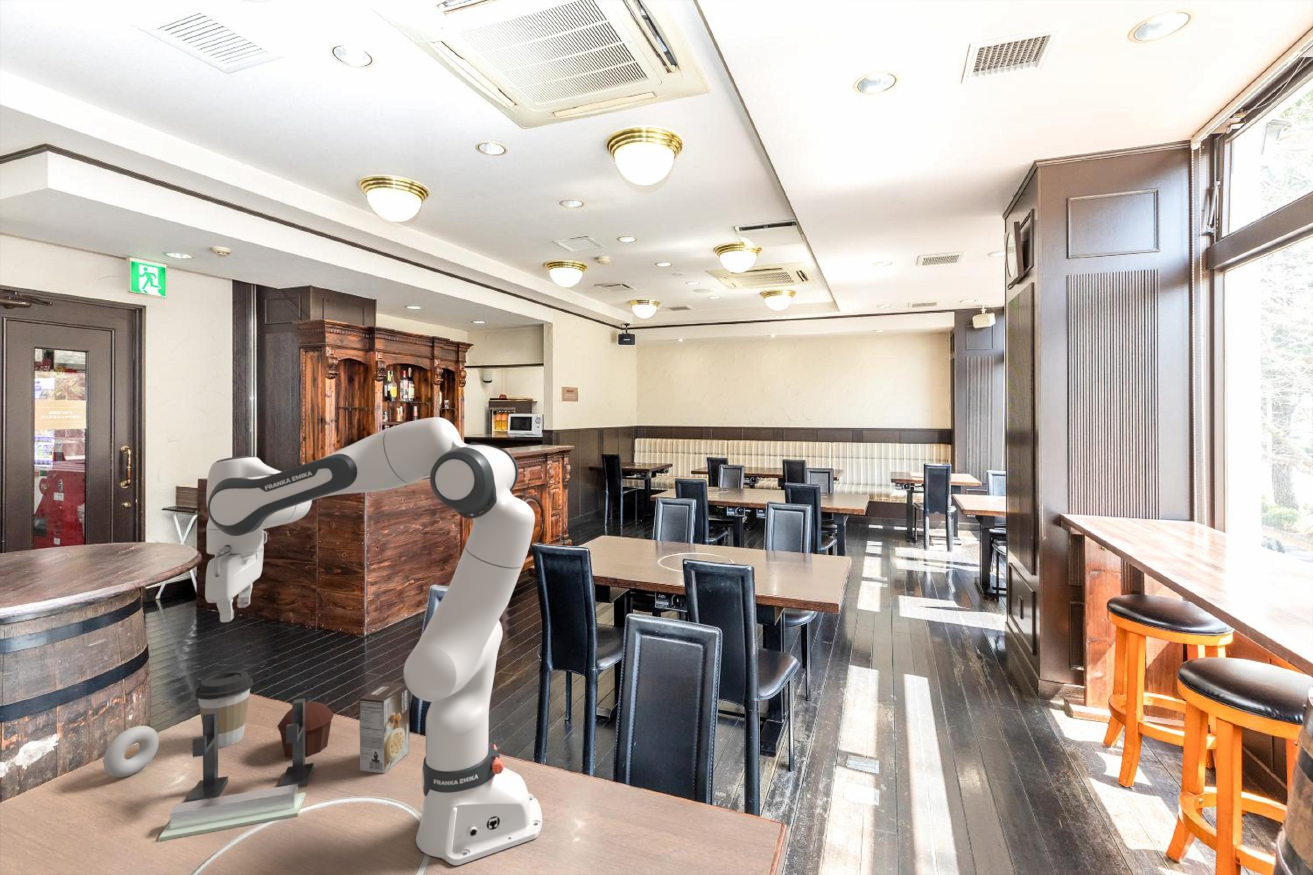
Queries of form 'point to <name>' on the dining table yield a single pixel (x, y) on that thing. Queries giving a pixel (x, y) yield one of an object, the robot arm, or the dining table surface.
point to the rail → (233, 806)
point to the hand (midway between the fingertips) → (235, 613)
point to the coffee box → (384, 727)
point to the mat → (233, 822)
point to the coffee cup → (226, 703)
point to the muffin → (309, 728)
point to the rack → (214, 785)
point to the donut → (117, 748)
